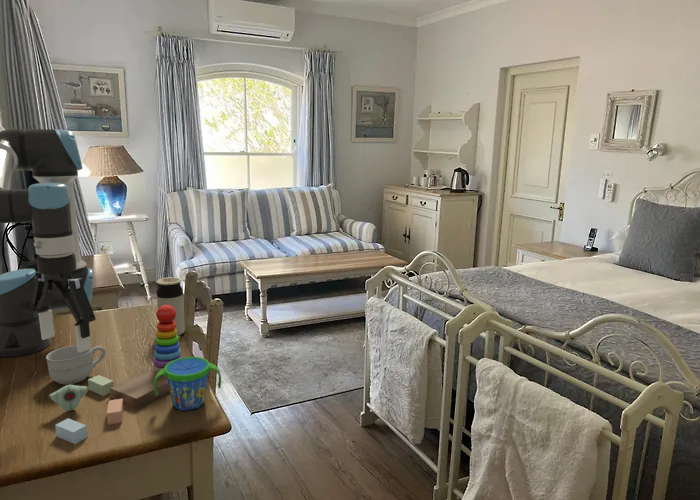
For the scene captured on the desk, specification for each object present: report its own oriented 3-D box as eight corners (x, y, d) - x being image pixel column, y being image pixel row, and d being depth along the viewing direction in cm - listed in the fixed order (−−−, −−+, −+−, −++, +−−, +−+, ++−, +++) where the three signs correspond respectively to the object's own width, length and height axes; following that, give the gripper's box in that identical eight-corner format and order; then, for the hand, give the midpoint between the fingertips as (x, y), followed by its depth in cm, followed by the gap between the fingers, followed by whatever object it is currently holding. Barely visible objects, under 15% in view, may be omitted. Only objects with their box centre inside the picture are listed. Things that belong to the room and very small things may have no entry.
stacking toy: (173, 377, 138) (169, 311, 134) (147, 374, 140) (142, 309, 135) (188, 364, 146) (184, 302, 141) (163, 361, 147) (158, 300, 143)
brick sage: (89, 390, 131) (87, 379, 130) (99, 385, 133) (98, 374, 133) (103, 396, 128) (102, 385, 127) (114, 391, 130) (113, 380, 130)
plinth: (110, 397, 127) (109, 387, 127) (150, 377, 137) (149, 369, 137) (137, 408, 122) (136, 398, 122) (176, 387, 133) (175, 378, 132)
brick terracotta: (110, 412, 121) (108, 400, 120) (123, 409, 122) (122, 398, 121) (107, 425, 116) (106, 413, 115) (122, 423, 117) (121, 411, 116)
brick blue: (56, 437, 111) (55, 424, 110) (69, 430, 113) (68, 418, 113) (75, 445, 108) (73, 432, 107) (87, 437, 111) (86, 425, 110)
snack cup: (222, 390, 132) (220, 353, 129) (221, 411, 122) (220, 372, 119) (158, 396, 128) (155, 358, 126) (152, 418, 118) (149, 378, 116)
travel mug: (175, 326, 174) (172, 275, 170) (190, 331, 169) (187, 279, 165) (154, 333, 167) (150, 280, 163) (169, 339, 163) (165, 285, 159)
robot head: (88, 402, 124) (86, 377, 123) (90, 410, 121) (88, 384, 120) (51, 411, 120) (47, 385, 119) (52, 420, 117) (48, 393, 115)
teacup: (48, 392, 129) (44, 363, 127) (50, 374, 138) (46, 347, 136) (108, 381, 135) (106, 353, 133) (106, 364, 145) (104, 338, 143)
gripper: (6, 250, 115) (18, 338, 120) (74, 265, 103) (84, 362, 108) (39, 244, 122) (49, 327, 126) (107, 258, 110) (115, 349, 114)
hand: (65, 343), depth 117 cm, fingers open, 13 cm apart
